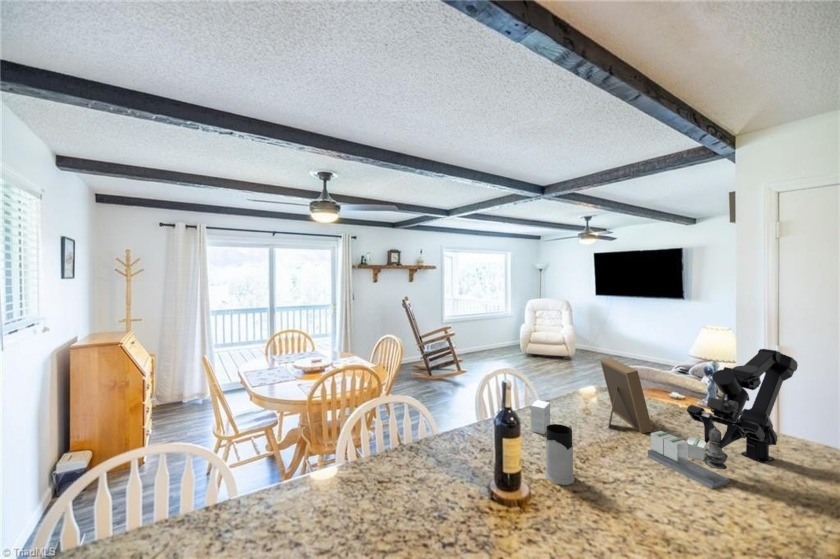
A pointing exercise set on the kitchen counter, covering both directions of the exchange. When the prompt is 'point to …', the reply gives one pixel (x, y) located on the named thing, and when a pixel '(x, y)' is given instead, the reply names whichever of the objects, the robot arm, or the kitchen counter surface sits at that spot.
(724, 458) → the dark grey tall piece
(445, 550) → the kitchen counter surface
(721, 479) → the rail
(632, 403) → the photo frame
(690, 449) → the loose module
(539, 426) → the small box
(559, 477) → the glass holder
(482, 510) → the kitchen counter surface
